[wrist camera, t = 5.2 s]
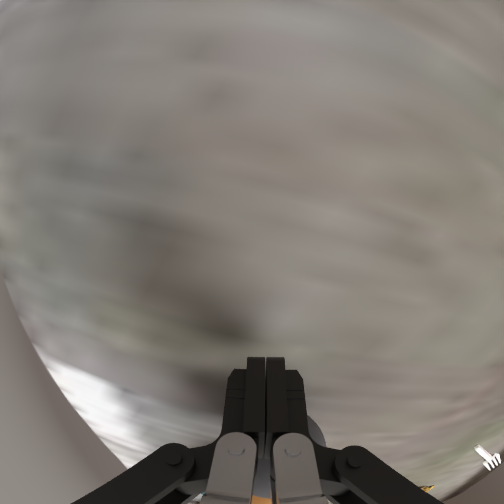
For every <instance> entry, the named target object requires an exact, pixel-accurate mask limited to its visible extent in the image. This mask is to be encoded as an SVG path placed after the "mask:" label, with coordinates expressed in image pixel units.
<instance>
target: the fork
mask: <svg viewBox="0 0 504 504" xmlns="http://www.w3.org/2000/svg"><path fill="white" fill-rule="evenodd" d="M473 448H474V449H475V450H476V451H477V452H478V453H479V454H480V455H481V456H482V457H483V458H484V459H485V461H483V463H484V465H485V466H486V467H487V468H488V469H489V470H490V467H489V465H488V462H489V463H490V464H491V465H492V467H493V468H494V465H493V463H492V461H491V460H493V461H494V462H495V464H496V465H497V466H498V464H497V462H496V460H495V458H494V457H495V456H496V458H497V459H498V461H499V463H500V464H501V460H500V456H499V454H497V453H495V454H494V455H493V456H491V455H490V454H489V453H488V452H487V451H486V450H485V449H484V448H482V447H481V446H480V445H479V444H478V445H476V446H475V447H473Z"/></svg>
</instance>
